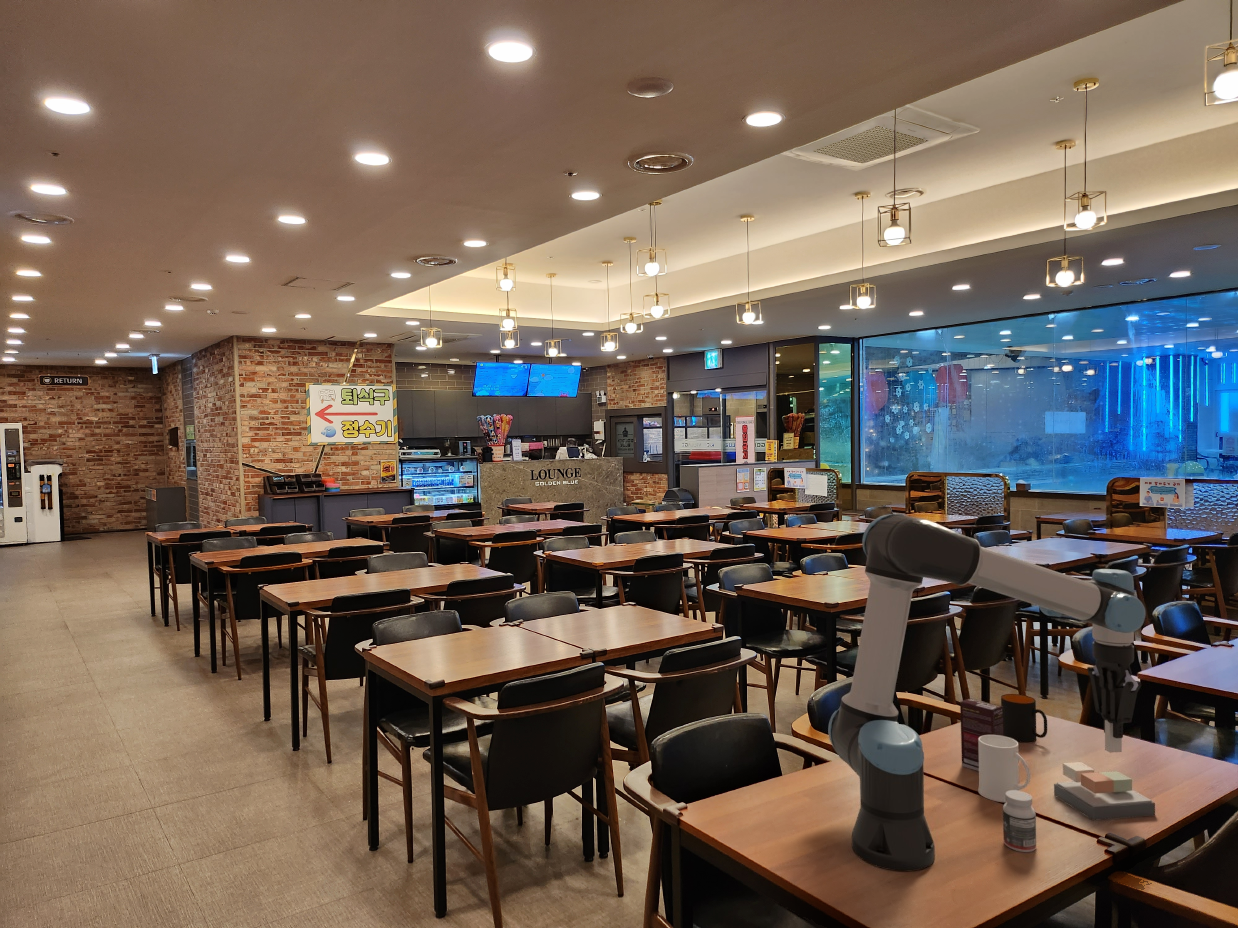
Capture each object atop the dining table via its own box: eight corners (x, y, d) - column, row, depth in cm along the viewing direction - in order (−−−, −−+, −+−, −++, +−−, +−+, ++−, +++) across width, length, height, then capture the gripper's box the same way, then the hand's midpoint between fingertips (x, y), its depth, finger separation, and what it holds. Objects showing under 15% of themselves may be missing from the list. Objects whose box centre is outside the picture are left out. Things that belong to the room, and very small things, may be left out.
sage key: (1113, 791, 165) (1113, 780, 165) (1099, 783, 169) (1099, 772, 169) (1132, 790, 165) (1131, 778, 165) (1117, 782, 169) (1117, 770, 169)
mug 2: (1042, 804, 168) (1041, 749, 167) (1012, 811, 164) (1011, 755, 164) (998, 783, 179) (997, 731, 178) (969, 789, 176) (968, 737, 175)
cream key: (1076, 782, 167) (1076, 770, 167) (1063, 774, 171) (1062, 763, 171) (1094, 780, 167) (1094, 769, 167) (1080, 773, 171) (1080, 761, 171)
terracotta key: (1095, 793, 161) (1095, 781, 161) (1080, 784, 165) (1080, 773, 165) (1113, 791, 162) (1113, 780, 162) (1099, 783, 166) (1098, 771, 166)
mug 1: (1037, 749, 198) (1037, 709, 198) (994, 735, 208) (994, 697, 208) (1056, 742, 202) (1056, 703, 202) (1014, 729, 213) (1013, 691, 212)
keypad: (1093, 820, 160) (1093, 805, 160) (1054, 795, 172) (1053, 781, 172) (1155, 815, 161) (1154, 800, 161) (1112, 790, 173) (1111, 777, 173)
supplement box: (1005, 771, 185) (1004, 705, 185) (994, 777, 182) (993, 710, 182) (971, 760, 192) (969, 697, 192) (960, 765, 189) (959, 701, 189)
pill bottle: (1004, 835, 154) (1003, 786, 154) (1036, 842, 152) (1036, 791, 151) (1002, 848, 149) (1001, 797, 149) (1035, 855, 147) (1034, 803, 146)
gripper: (1153, 648, 161) (1153, 761, 161) (1106, 634, 174) (1106, 739, 174) (1120, 649, 160) (1120, 763, 160) (1075, 635, 173) (1076, 740, 173)
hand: (1113, 750), depth 167 cm, fingers closed
